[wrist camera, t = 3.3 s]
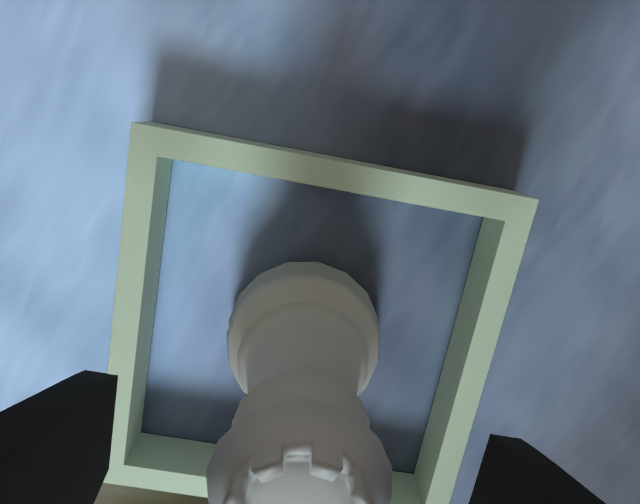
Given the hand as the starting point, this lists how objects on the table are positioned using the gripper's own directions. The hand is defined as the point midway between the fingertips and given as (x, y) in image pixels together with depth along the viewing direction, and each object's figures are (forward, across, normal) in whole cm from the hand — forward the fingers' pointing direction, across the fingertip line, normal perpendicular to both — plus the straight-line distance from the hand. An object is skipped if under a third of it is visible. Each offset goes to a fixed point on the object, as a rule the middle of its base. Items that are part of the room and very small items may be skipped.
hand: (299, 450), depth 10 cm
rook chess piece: (+6, 0, 0) cm, 6 cm away
